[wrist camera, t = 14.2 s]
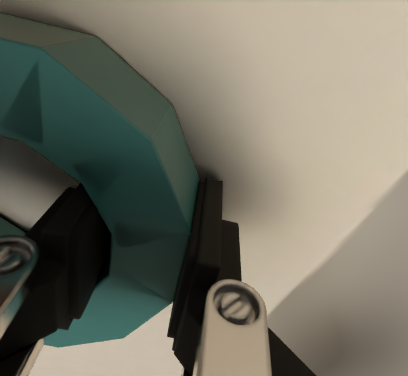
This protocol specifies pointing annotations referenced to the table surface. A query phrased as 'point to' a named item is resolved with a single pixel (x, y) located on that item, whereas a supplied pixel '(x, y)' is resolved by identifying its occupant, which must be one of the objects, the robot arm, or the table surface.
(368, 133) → the table surface
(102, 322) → the teal ring
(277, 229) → the table surface
